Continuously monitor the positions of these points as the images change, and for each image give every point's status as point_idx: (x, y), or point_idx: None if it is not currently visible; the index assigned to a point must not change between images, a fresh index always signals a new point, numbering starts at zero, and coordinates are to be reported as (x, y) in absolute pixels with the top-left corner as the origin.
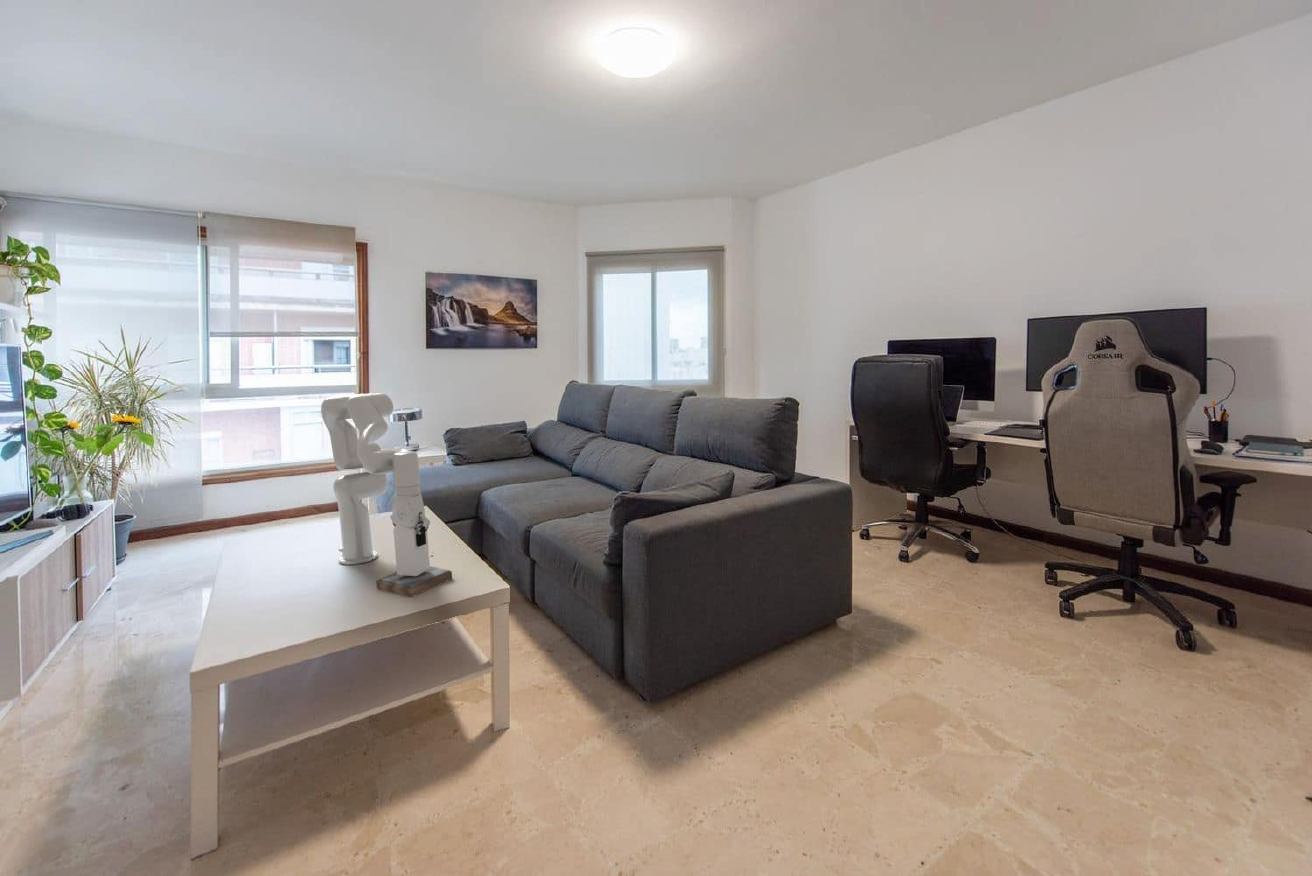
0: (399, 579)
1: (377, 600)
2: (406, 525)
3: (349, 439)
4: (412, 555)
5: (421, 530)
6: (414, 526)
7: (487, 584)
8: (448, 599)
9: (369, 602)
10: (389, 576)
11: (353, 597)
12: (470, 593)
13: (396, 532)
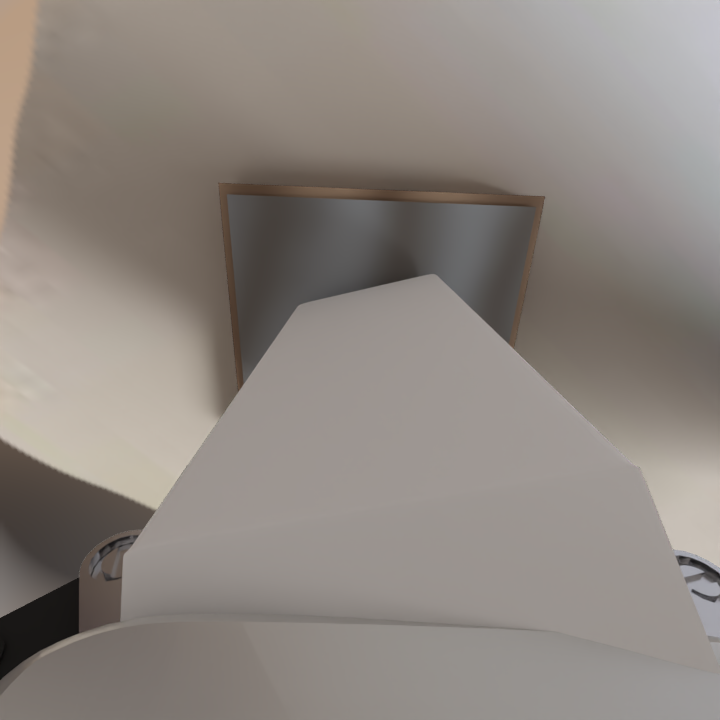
0: (397, 256)
1: (380, 56)
2: (289, 661)
3: None
4: (290, 345)
5: (59, 615)
6: (14, 668)
7: (59, 439)
8: (39, 241)
9: (402, 5)
10: (498, 269)
11: (567, 24)
12: (23, 338)
13: (525, 439)
